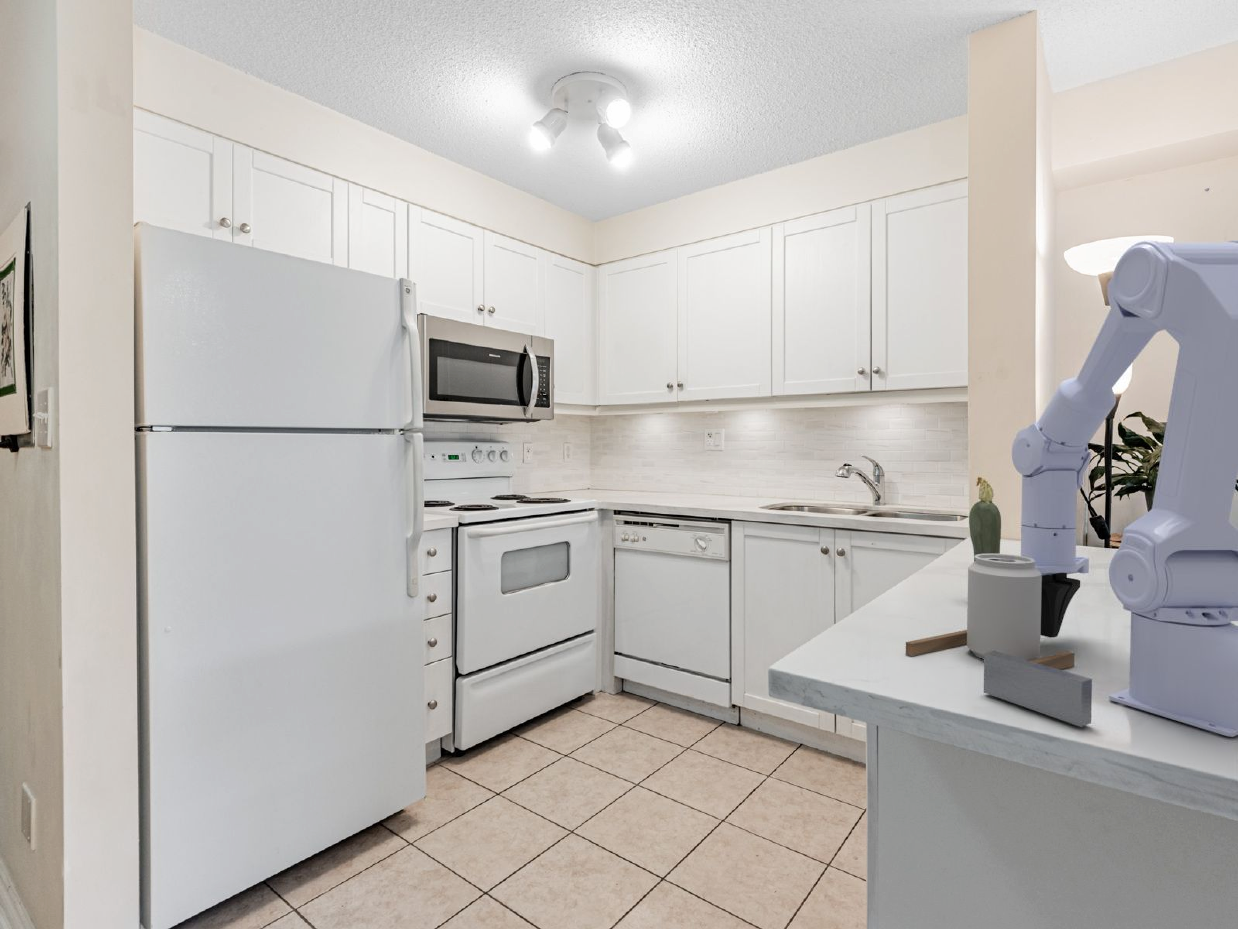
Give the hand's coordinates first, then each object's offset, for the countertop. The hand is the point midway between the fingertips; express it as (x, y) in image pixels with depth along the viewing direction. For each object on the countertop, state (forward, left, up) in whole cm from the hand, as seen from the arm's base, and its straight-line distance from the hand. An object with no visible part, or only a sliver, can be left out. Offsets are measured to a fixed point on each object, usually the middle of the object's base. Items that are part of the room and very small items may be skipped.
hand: (1046, 635), depth 82 cm
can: (0, +9, -2) cm, 9 cm away
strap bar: (-11, +21, -1) cm, 24 cm away
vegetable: (+17, -13, -2) cm, 22 cm away
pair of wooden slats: (0, +11, -1) cm, 12 cm away
